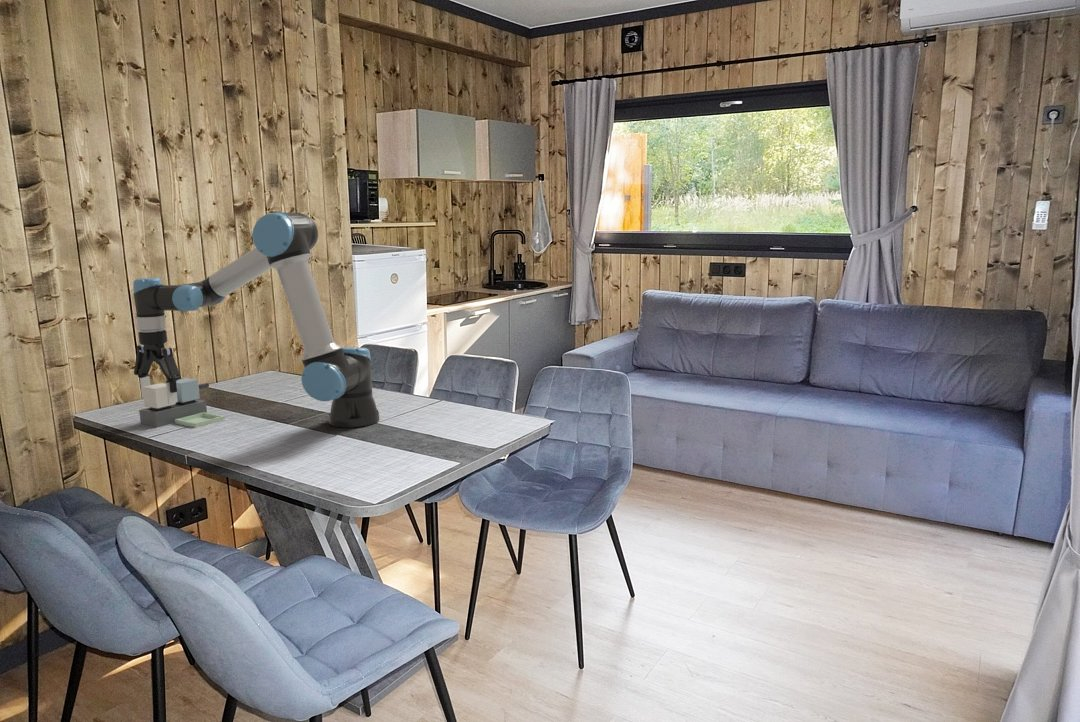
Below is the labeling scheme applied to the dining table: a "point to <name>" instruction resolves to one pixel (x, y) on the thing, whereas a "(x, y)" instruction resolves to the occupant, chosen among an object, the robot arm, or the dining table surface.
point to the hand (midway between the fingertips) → (159, 400)
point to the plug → (156, 397)
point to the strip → (177, 405)
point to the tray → (199, 419)
